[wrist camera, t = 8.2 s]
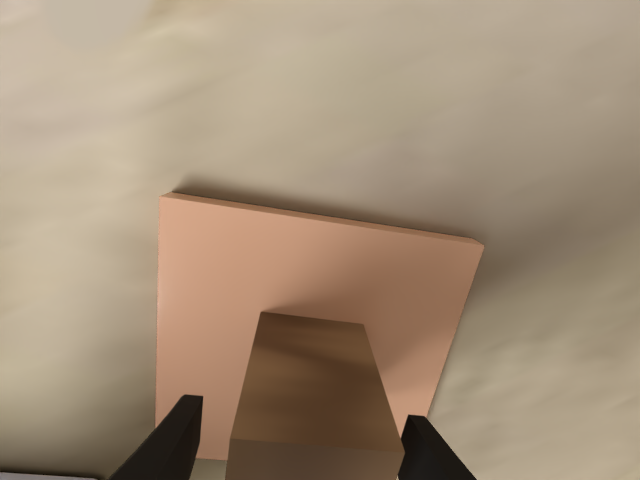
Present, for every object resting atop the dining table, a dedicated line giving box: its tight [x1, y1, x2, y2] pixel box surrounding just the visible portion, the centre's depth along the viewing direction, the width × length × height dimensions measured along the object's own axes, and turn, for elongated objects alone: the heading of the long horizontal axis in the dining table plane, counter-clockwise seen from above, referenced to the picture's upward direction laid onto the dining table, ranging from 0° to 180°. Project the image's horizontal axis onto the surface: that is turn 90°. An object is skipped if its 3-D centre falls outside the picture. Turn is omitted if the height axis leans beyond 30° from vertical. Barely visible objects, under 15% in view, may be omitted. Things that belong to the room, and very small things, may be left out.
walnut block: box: [225, 312, 405, 480], centre depth 12 cm, size 4×4×6 cm
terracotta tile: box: [155, 192, 485, 460], centre depth 15 cm, size 13×13×1 cm
